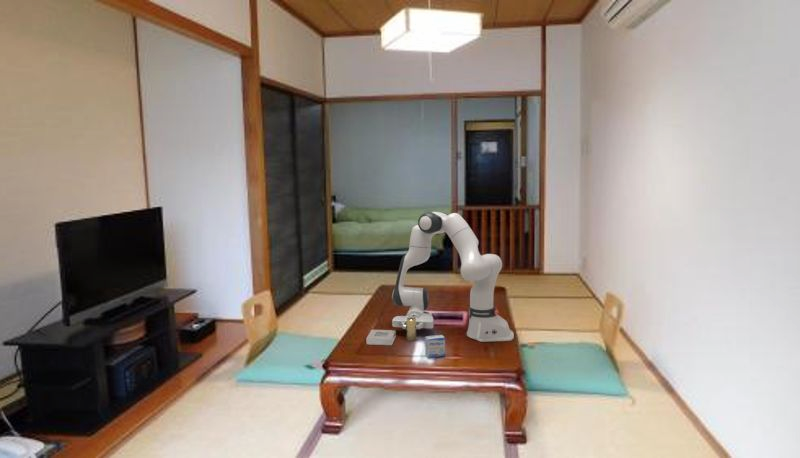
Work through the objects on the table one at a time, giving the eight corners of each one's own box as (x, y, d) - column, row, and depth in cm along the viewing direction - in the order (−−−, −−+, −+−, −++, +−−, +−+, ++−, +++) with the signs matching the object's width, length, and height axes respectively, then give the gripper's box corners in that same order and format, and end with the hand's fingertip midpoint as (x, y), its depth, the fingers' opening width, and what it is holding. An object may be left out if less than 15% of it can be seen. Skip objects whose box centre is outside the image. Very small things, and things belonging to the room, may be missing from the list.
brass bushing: (416, 337, 264) (416, 317, 263) (415, 341, 260) (415, 320, 258) (407, 337, 265) (407, 317, 263) (406, 340, 261) (405, 320, 259)
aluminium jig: (395, 336, 267) (395, 330, 266) (391, 345, 255) (391, 339, 254) (371, 335, 268) (371, 329, 268) (366, 344, 257) (366, 338, 256)
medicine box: (428, 358, 239) (427, 339, 237) (425, 354, 243) (424, 336, 242) (445, 356, 241) (445, 337, 239) (441, 352, 245) (441, 334, 244)
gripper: (394, 311, 275) (389, 320, 262) (434, 312, 272) (432, 321, 259) (394, 323, 276) (389, 333, 263) (434, 325, 273) (432, 334, 260)
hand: (411, 327), depth 261 cm, fingers open, 5 cm apart
